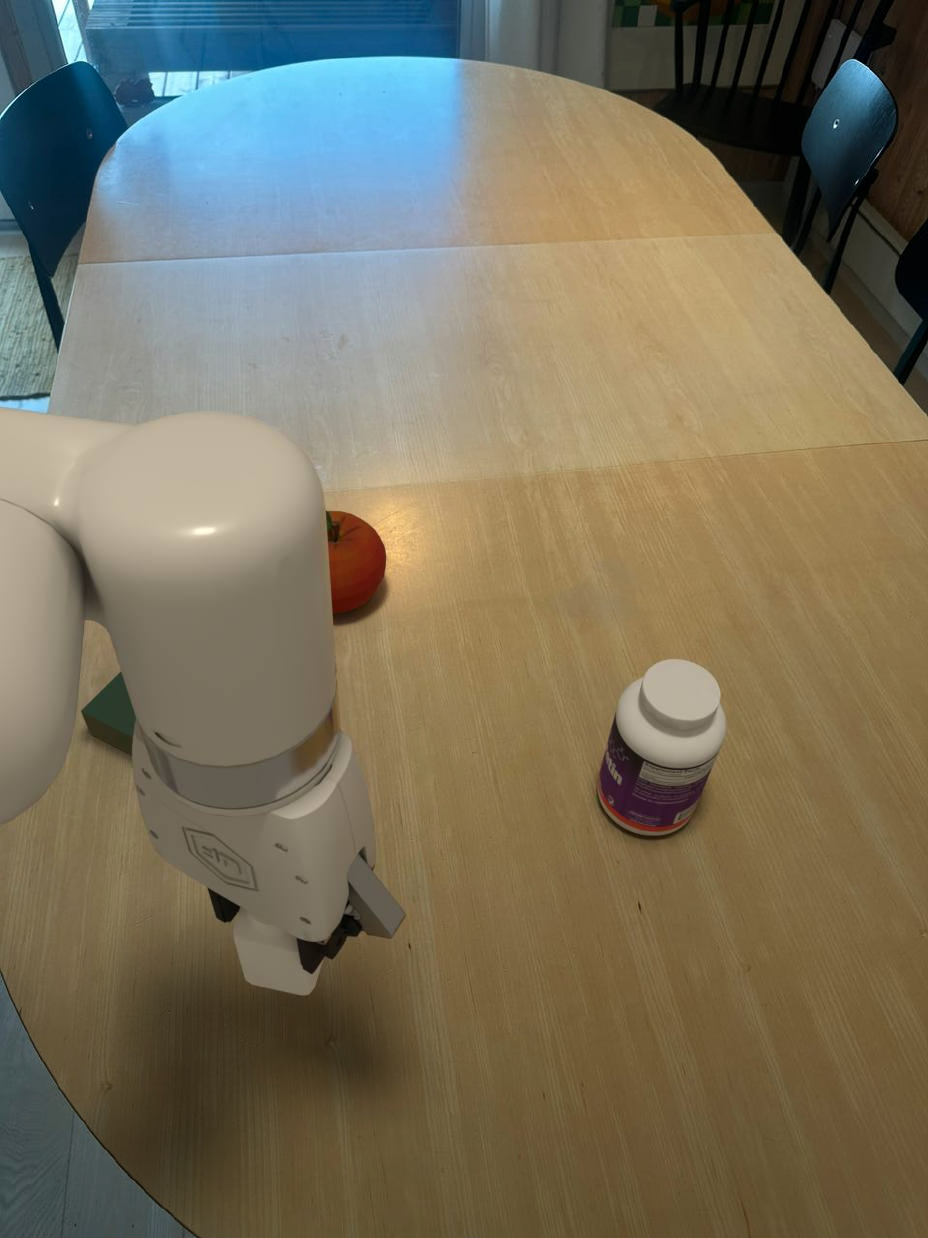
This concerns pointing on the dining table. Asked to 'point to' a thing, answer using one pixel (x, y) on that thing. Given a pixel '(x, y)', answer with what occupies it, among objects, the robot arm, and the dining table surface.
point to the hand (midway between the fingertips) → (281, 921)
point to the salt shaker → (270, 956)
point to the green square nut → (112, 715)
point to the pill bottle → (662, 748)
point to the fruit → (353, 560)
